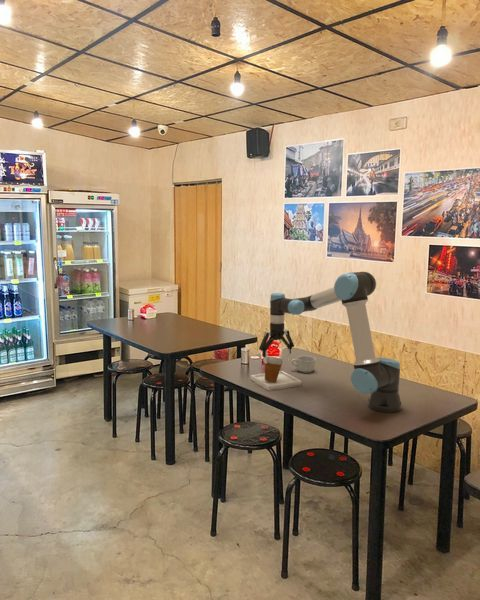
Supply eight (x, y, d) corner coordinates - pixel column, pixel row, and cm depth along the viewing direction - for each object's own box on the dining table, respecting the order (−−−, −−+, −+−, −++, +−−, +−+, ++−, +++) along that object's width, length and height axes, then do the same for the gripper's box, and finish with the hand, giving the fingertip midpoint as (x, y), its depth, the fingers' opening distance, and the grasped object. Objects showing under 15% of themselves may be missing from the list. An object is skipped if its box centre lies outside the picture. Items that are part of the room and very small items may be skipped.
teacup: (314, 369, 298) (315, 355, 296) (315, 374, 287) (316, 360, 286) (290, 368, 299) (291, 354, 298) (290, 373, 288) (291, 359, 287)
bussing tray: (301, 385, 267) (301, 381, 267) (268, 390, 258) (268, 386, 258) (282, 375, 285) (282, 370, 284) (250, 379, 276) (250, 375, 276)
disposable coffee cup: (258, 377, 272) (262, 355, 271) (274, 378, 276) (278, 357, 275) (266, 382, 263) (270, 360, 262) (282, 383, 267) (286, 361, 266)
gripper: (293, 319, 275) (292, 357, 278) (252, 323, 264) (252, 362, 268) (301, 321, 268) (300, 360, 272) (259, 325, 258) (259, 366, 261)
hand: (276, 361), depth 270 cm, fingers open, 13 cm apart
